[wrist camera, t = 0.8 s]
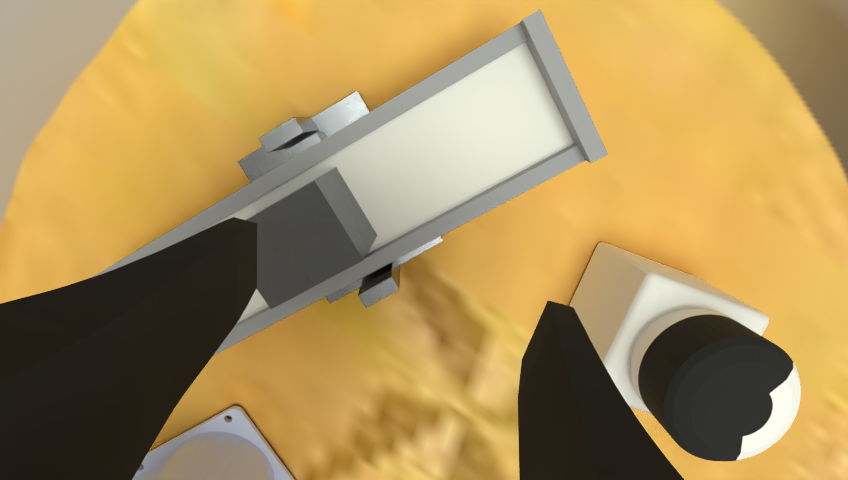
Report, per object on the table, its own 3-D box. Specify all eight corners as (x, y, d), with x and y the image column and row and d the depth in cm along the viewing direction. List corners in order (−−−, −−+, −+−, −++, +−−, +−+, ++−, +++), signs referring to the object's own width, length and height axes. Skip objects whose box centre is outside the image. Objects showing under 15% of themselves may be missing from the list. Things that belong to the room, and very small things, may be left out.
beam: (198, 347, 32) (155, 390, 27) (132, 256, 30) (74, 286, 26) (582, 143, 27) (608, 154, 22) (525, 24, 25) (540, 9, 21)
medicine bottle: (551, 338, 33) (631, 455, 22) (597, 239, 32) (709, 307, 20) (647, 371, 34) (774, 502, 22) (696, 276, 33) (859, 363, 21)
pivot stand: (331, 299, 32) (317, 334, 27) (242, 160, 30) (206, 169, 25) (442, 237, 31) (449, 261, 26) (358, 91, 29) (348, 85, 24)
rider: (297, 278, 27) (270, 309, 23) (254, 214, 26) (220, 235, 22) (377, 235, 26) (363, 260, 22) (336, 166, 25) (314, 180, 21)
